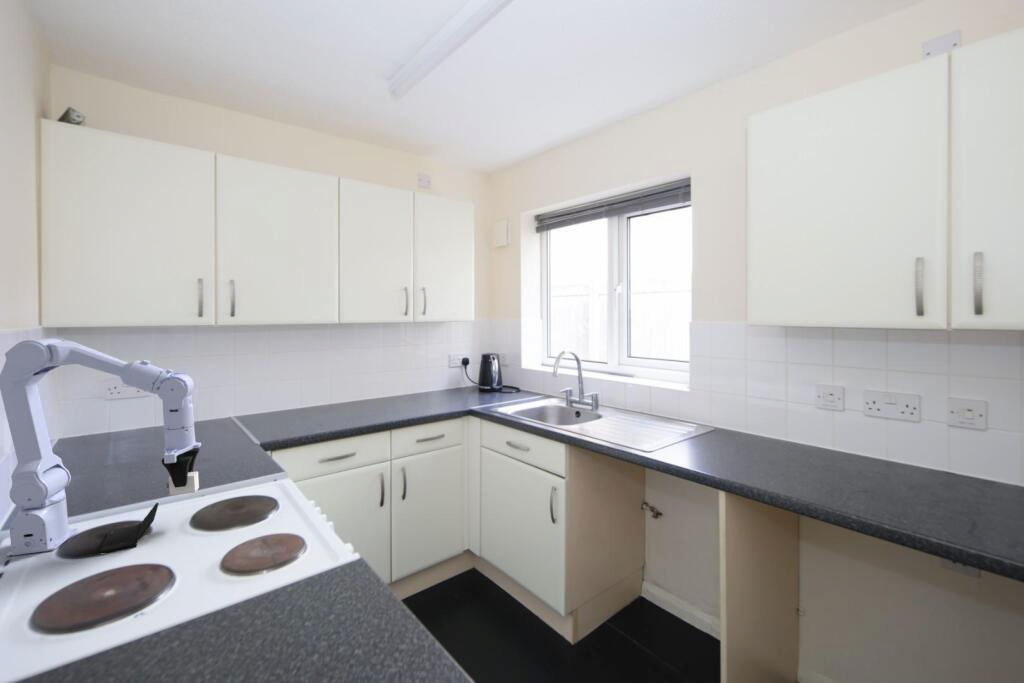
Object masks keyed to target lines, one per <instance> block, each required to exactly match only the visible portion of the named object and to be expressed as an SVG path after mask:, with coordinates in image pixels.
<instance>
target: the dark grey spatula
mask: <svg viewBox="0 0 1024 683" xmlns="http://www.w3.org/2000/svg"><path fill="white" fill-rule="evenodd" d="M159 505H160V504H159V502H156V503H155V505H153V507H152V508H151V509H150V510H149V512H148V513H147V515H145V517H144V518H143V520H142V521H141V522H139V523H138V524H136V525H130V526H125V527H119V528H115V529H110V530H109V531H108V533H107V535H106V537H105V538H104V542H103V543H102V545H101V548H100V550H99V554H100V553H107V554H110V553H111V554H112V553H115V552H121V551H125V550H129V549H134V548H137V546H138V542H139V541H140V539H141V538H142V537H143V536H144V534H145V532H147V530H148V529H149V527H150V526H151V525H152V524H153V522H154V521H155V517H156V515H157V514H156V513H157V512H158V506H159Z"/></svg>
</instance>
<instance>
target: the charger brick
mask: <svg viewBox="0 0 1024 683" xmlns="http://www.w3.org/2000/svg"><path fill="white" fill-rule="evenodd" d="M199 482H200V481H199V471H193V472H188V477H187V484H186V486H185V487H176V488H175V487H174V484H173V482H172V479H171V476H169V477H168V481H167V482H166V489H169V490H168V491H169V496H177V495H184V494H186V495H187V494H193V493H196V492H197V491H198V490H199V488H200V483H199Z"/></svg>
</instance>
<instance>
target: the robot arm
mask: <svg viewBox="0 0 1024 683" xmlns="http://www.w3.org/2000/svg"><path fill="white" fill-rule="evenodd" d="M4 356H5V362H4V365H3V367H2V369H1V371H0V394H1V398H2V403H3V407H4V411H5V415H6V419H7V423H8V424H7V425H8V427H9V430H10V432H9V433H10V435H11V439H12V443H13V447H14V452H15V456H16V460H17V463H16V466H15V468H14V469H13V472H12V473H11V476H10V478H11V483H12V484H11V488H10V490H9V498H10V500H11V502H12V503H13V504H14V505H16V506H17V507H18V512H17V514H16V516H15V517H14V518H13V519H12V520H11V522H10V524H9V537H10V539H9V540H10V547H11V549H10V551H8V552H7V553H6V555H5V556H7V557H10V555H12V556H17V555H18V556H19V555H26V554H33V553H40V552H48V551H54V550H56V549H57V548H58V547H59V546H60V545H62V544H63V543H64V542H65V541H67V540H68V539H70V537H71V536H73V535H74V534H75V533H77V532H78V531H79V528H78V527H77V528H69V517H68V516H69V515H68V507H67V506H68V505H67V494H66V488H68V486H69V484H70V483H71V480H72V476H71V473H70V470H69V469H67V468H66V466H64V464H63V461H62V458H61V457H59V455H57V454H55V453H54V452H53V448H52V444H51V440H50V435H49V431H48V426H47V423H46V422H47V421H46V418H45V417H46V416H45V415H44V414H45V413H44V409H43V405H42V400H41V396H40V391H39V389H38V388H39V387H38V383H39V382H40V381H41V380H42V379H43V378H44V377H45V376H46V375H48V374H49V372H51V371H53V370H54V369H57V368H59V367H62V366H69V365H70V366H71V365H79V366H82V367H86V368H90V369H93V370H96V371H100V372H103V373H107V374H111V375H114V376H117V377H119V378H120V380H121V382H122V383H123V385H127V386H130V387H133V388H136V389H138V390H142V391H143V392H144V391H145V392H148V393H151V394H154V395H156V394H157V396H158V397H159V399H161V400H162V414H163V415H162V416H163V432H164V447H163V448H164V450H163V451H164V455H163V458H162V459H161V464H162V466H163V467H164V468H165V469H166V471H167V472H168V474H169V477H171V479H172V482H173V484H174V487H175V488H176V487H185V486H186V484H187V477H188V472H194V467H195V463H196V460H197V457H198V454H199V452H200V447H201V446H202V442H197V441H196V431H195V419H194V405H193V395H192V393H193V392H194V390H195V385H196V383H195V380H194V379H193V377H191V376H190V375H189V374H186V373H185V372H181V371H180V372H175V373H174V370H173V369H172V368H171V369H170V368H168V369H164V368H161V367H158V366H156V365H154V364H153V365H152V364H151V360H147V359H144V360H138V359H137V360H133V361H131V362H127V361H124V360H122V359H120V358H116V357H114V356H111V355H109V354H106V353H104V352H101V351H99V350H96V349H93V348H91V347H88V346H85V345H83V344H80V343H78V342H76V341H72V340H66V339H65V338H64V339H63V338H61V337H57V336H52V337H47V338H42V339H41V338H40V339H26V340H22V341H19V342H18V343H16V344H14V346H12V347H11V348H10V349H9V350H7V351H6V352H5V353H4Z"/></svg>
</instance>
